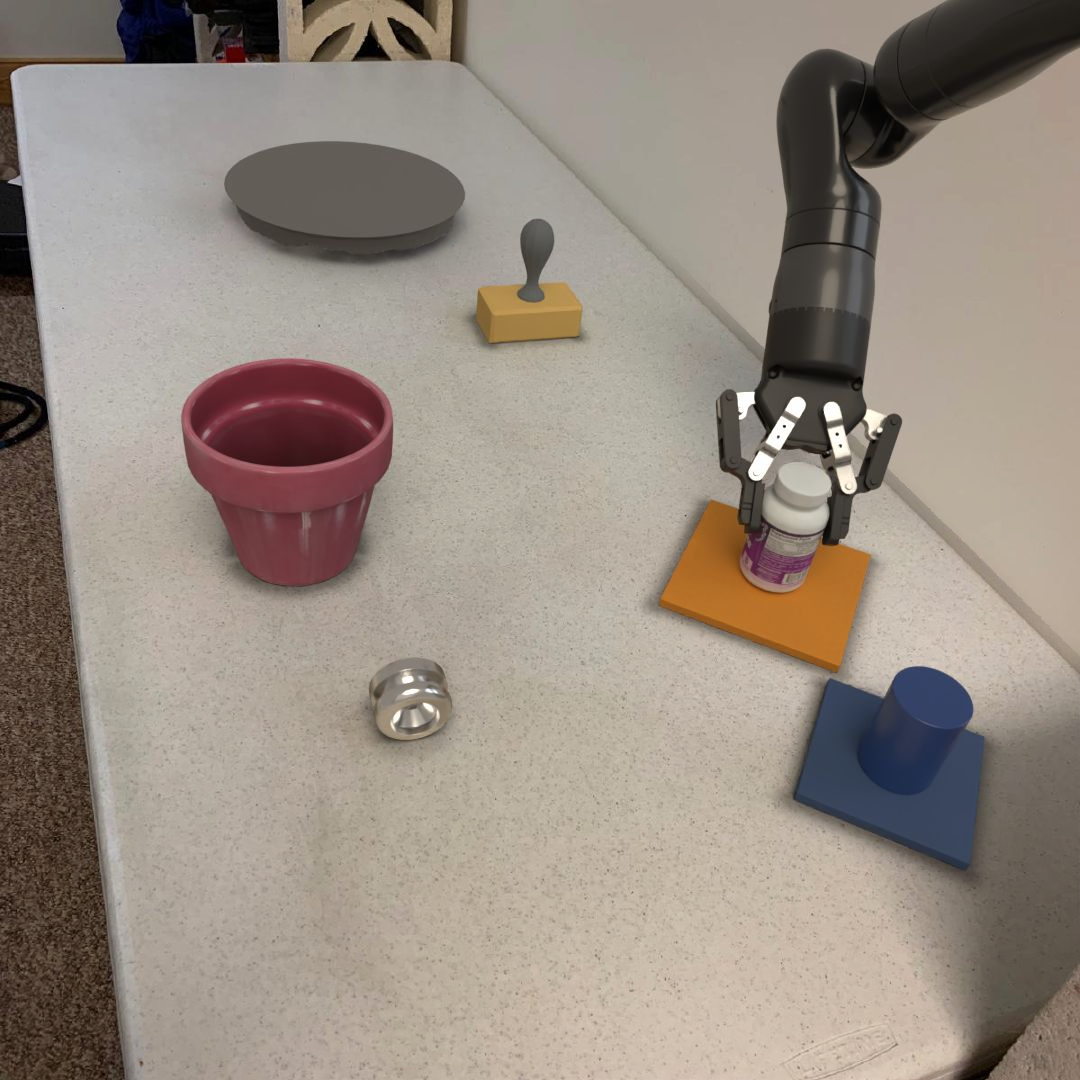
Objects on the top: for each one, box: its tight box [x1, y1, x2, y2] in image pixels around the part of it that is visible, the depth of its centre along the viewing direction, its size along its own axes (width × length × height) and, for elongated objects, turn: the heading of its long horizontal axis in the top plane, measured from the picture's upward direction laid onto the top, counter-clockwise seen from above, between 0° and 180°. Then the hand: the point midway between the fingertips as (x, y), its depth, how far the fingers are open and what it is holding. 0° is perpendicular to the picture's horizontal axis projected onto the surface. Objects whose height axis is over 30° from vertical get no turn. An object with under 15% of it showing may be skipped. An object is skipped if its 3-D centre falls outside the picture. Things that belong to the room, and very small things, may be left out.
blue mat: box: [793, 677, 985, 871], centre depth 66 cm, size 11×11×1 cm
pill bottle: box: [740, 461, 831, 593], centre depth 76 cm, size 5×5×10 cm
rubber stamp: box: [475, 218, 584, 344], centre depth 102 cm, size 10×6×12 cm, turn 108°
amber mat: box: [658, 499, 872, 673], centre depth 79 cm, size 14×14×1 cm
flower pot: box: [180, 357, 394, 587], centre depth 73 cm, size 14×14×13 cm
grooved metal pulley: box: [368, 657, 453, 741], centre depth 64 cm, size 5×3×5 cm, turn 105°
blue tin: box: [858, 665, 974, 795], centre depth 64 cm, size 5×5×7 cm
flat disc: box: [223, 140, 466, 256], centre depth 119 cm, size 28×28×4 cm
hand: (790, 538), depth 74 cm, fingers closed on pill bottle, 5 cm apart
